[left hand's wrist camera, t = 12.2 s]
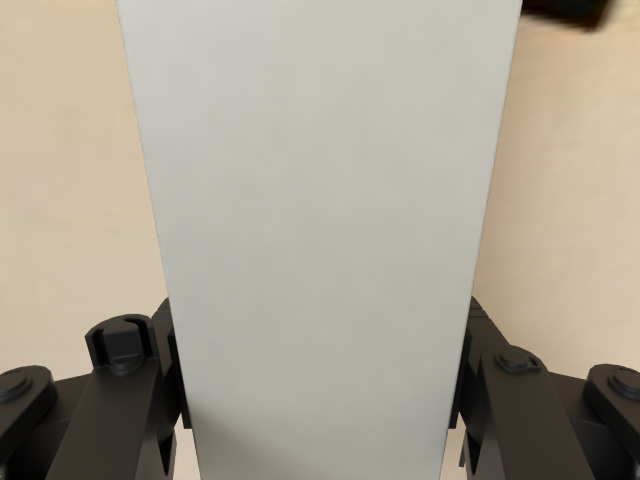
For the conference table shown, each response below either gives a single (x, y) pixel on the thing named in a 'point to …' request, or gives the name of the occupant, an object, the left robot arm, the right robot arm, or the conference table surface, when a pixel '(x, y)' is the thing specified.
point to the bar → (319, 219)
